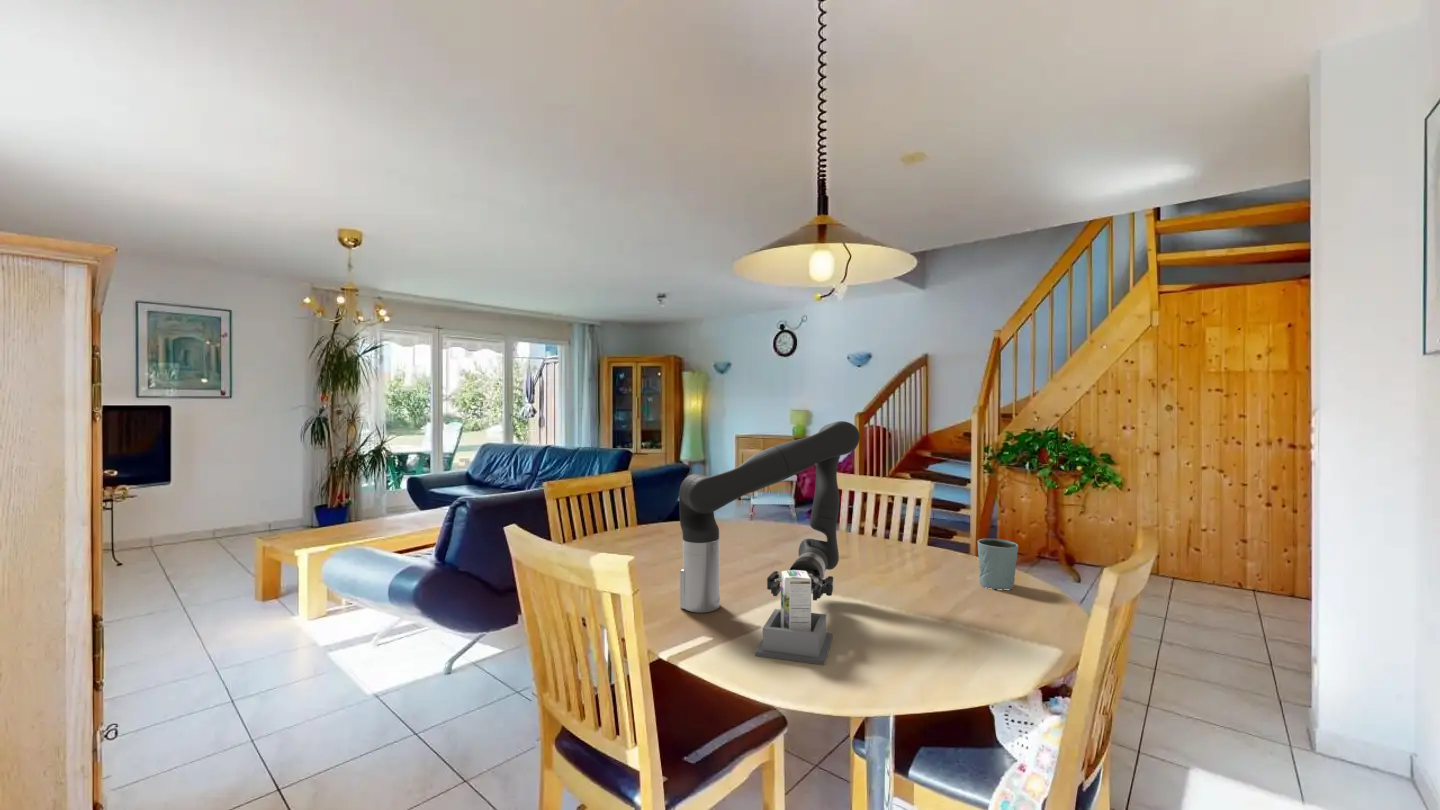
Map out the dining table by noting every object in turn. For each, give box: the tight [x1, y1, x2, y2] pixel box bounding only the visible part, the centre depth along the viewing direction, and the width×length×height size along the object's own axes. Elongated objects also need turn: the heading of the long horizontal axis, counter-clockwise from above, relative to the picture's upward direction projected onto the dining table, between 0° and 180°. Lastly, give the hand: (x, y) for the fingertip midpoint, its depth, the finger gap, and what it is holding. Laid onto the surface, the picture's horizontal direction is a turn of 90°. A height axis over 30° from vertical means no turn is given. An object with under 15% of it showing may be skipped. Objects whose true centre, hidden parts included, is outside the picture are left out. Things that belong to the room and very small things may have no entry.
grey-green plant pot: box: [977, 538, 1019, 590], centre depth 162 cm, size 10×10×12 cm
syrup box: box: [780, 569, 812, 632], centre depth 124 cm, size 6×6×14 cm
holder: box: [754, 608, 834, 666], centre depth 124 cm, size 14×14×5 cm
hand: (794, 593), depth 123 cm, fingers open, 8 cm apart
